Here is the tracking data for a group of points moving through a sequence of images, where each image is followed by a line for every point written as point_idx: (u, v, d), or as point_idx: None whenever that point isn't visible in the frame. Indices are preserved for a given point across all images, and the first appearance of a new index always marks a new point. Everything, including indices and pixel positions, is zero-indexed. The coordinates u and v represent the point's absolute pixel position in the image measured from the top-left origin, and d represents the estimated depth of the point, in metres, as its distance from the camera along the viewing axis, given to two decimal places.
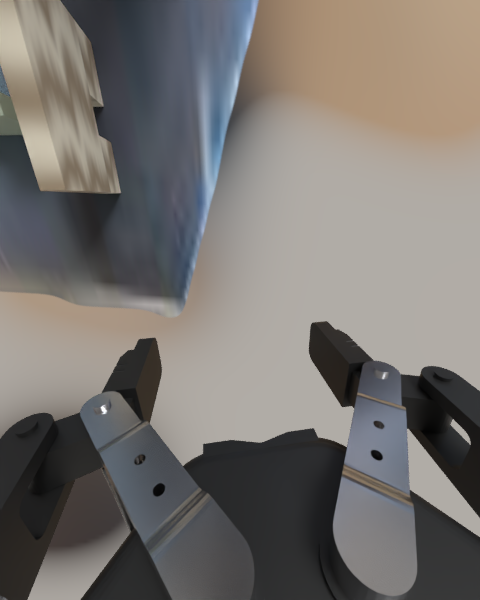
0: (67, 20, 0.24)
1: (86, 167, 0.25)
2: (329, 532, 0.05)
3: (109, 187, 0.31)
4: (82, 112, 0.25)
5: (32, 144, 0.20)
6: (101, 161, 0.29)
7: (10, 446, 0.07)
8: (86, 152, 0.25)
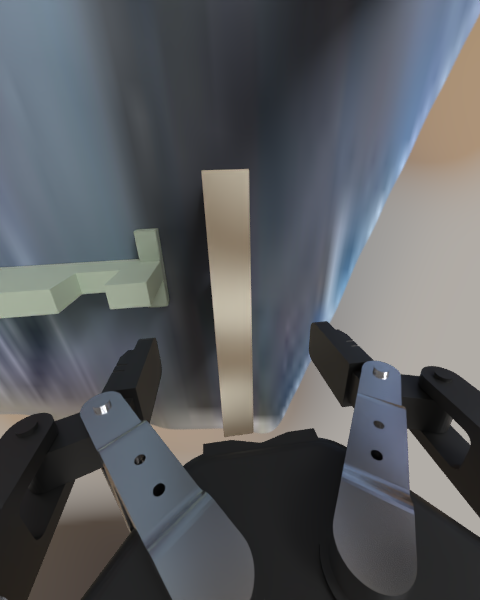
0: None
1: None
2: (329, 532, 0.05)
3: None
4: None
5: (228, 398, 0.15)
6: None
7: (10, 446, 0.07)
8: None
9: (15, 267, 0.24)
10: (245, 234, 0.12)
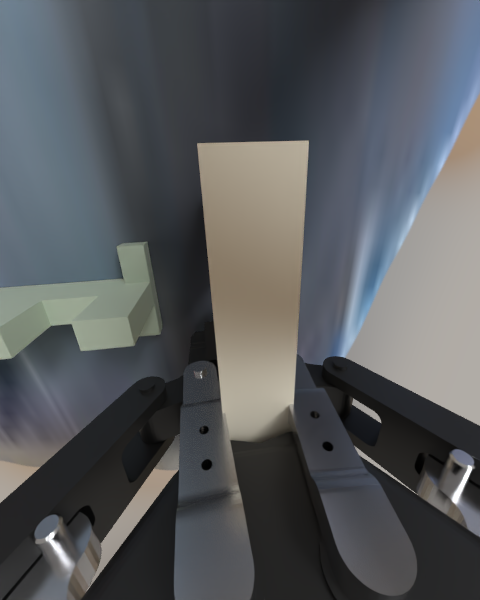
0: None
1: None
2: (326, 555, 0.04)
3: None
4: None
5: None
6: None
7: (133, 397, 0.08)
8: None
9: None
10: (291, 283, 0.06)
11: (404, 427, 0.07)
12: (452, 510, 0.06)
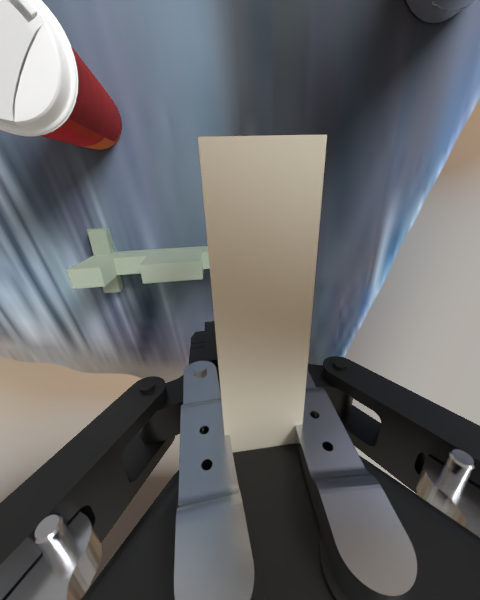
0: None
1: None
2: (326, 555, 0.04)
3: None
4: None
5: None
6: None
7: (133, 397, 0.08)
8: None
9: (145, 250, 0.32)
10: (303, 295, 0.05)
11: (404, 427, 0.07)
12: (452, 511, 0.06)
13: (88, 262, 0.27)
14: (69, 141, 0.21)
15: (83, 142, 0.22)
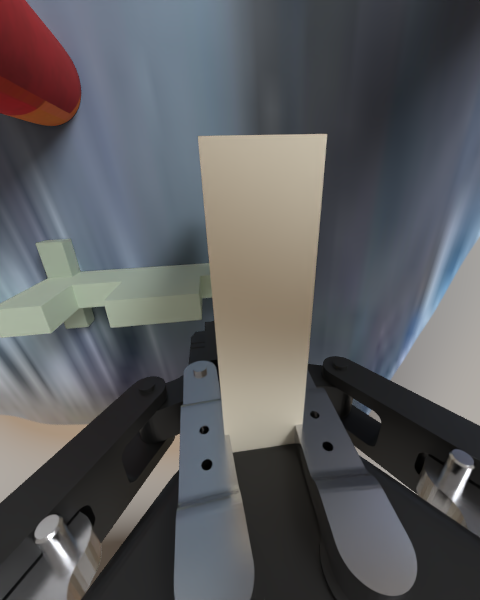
0: None
1: None
2: (326, 555, 0.04)
3: None
4: None
5: None
6: None
7: (133, 397, 0.08)
8: None
9: (122, 269, 0.23)
10: (303, 295, 0.05)
11: (404, 427, 0.07)
12: (452, 511, 0.06)
13: (31, 293, 0.18)
14: None
15: (2, 104, 0.13)
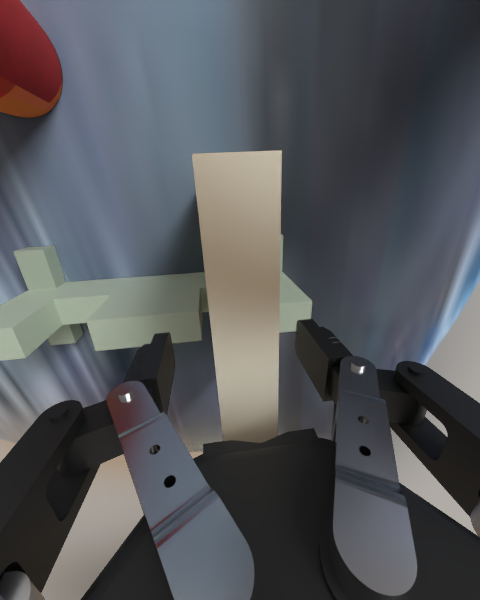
0: None
1: None
2: (327, 536, 0.05)
3: None
4: None
5: None
6: None
7: (43, 429, 0.07)
8: None
9: (112, 279, 0.21)
10: (272, 267, 0.07)
11: (472, 446, 0.07)
12: None
13: (4, 310, 0.16)
14: None
15: None
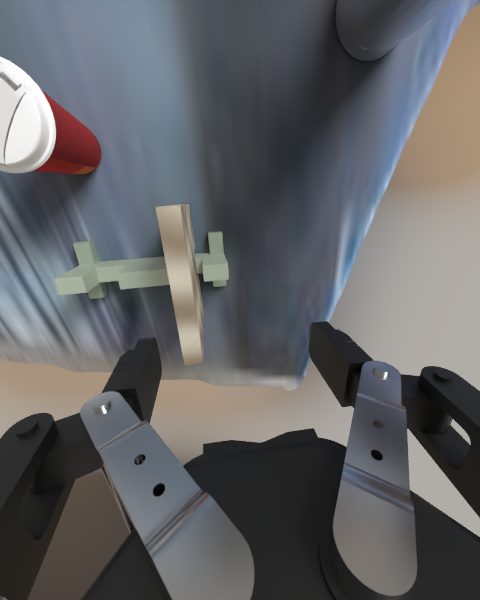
0: (187, 212, 0.30)
1: None
2: (329, 532, 0.05)
3: (202, 315, 0.37)
4: None
5: (184, 338, 0.25)
6: (200, 300, 0.35)
7: (10, 446, 0.07)
8: (199, 308, 0.31)
9: None
10: (182, 238, 0.22)
11: None
12: None
13: (73, 272, 0.31)
14: (53, 171, 0.25)
15: (65, 171, 0.26)
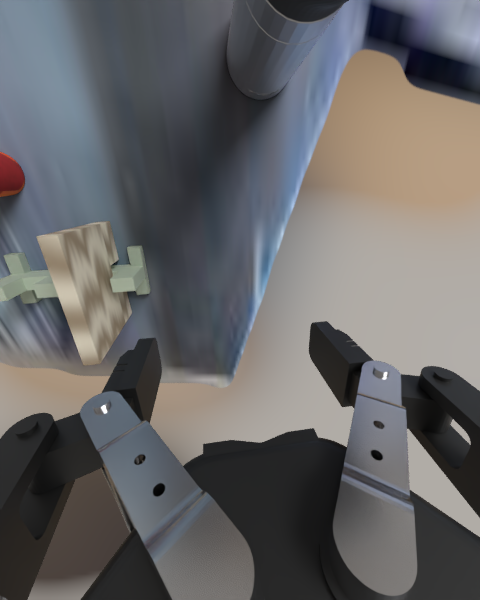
0: (96, 232, 0.34)
1: (110, 327, 0.36)
2: (329, 532, 0.05)
3: (124, 320, 0.41)
4: (106, 288, 0.36)
5: (79, 342, 0.30)
6: (119, 307, 0.39)
7: (10, 446, 0.07)
8: (110, 316, 0.36)
9: None
10: (63, 261, 0.26)
11: None
12: None
13: None
14: None
15: None
